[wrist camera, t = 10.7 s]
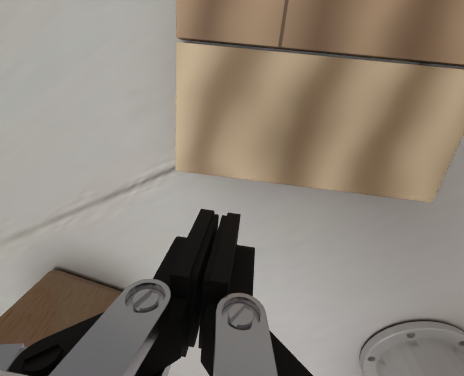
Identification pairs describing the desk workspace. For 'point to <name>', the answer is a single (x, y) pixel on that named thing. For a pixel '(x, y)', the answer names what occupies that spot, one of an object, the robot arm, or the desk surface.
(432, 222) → the desk surface
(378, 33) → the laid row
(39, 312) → the wooden block
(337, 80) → the board
